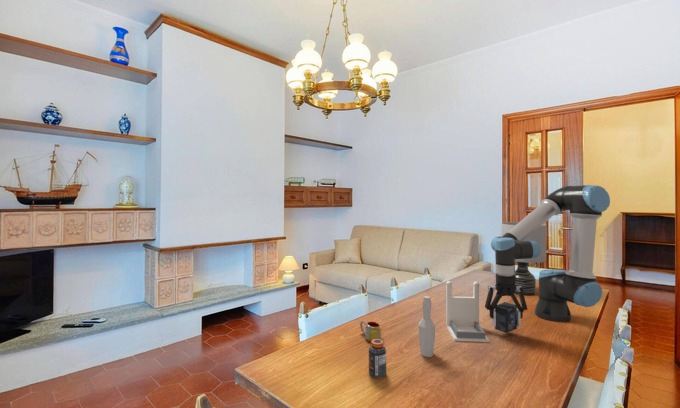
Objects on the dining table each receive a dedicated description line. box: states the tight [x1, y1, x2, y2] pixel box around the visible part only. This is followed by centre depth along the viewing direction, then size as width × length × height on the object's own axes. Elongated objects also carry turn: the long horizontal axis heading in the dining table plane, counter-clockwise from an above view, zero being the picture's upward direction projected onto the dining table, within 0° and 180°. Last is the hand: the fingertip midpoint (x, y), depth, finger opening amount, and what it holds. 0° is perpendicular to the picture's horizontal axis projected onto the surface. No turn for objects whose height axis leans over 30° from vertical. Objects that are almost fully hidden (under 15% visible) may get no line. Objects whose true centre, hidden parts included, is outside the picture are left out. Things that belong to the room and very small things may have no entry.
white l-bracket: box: [445, 280, 490, 343], centre depth 142 cm, size 15×16×21 cm
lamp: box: [500, 221, 547, 297], centre depth 201 cm, size 24×24×42 cm
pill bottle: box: [368, 339, 387, 379], centre depth 111 cm, size 6×6×11 cm
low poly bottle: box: [418, 295, 436, 358], centre depth 124 cm, size 6×6×22 cm
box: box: [494, 301, 518, 334], centre depth 141 cm, size 8×6×11 cm
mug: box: [359, 320, 383, 343], centre depth 140 cm, size 12×7×7 cm, turn 33°
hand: (506, 325), depth 141 cm, fingers closed on box, 9 cm apart
